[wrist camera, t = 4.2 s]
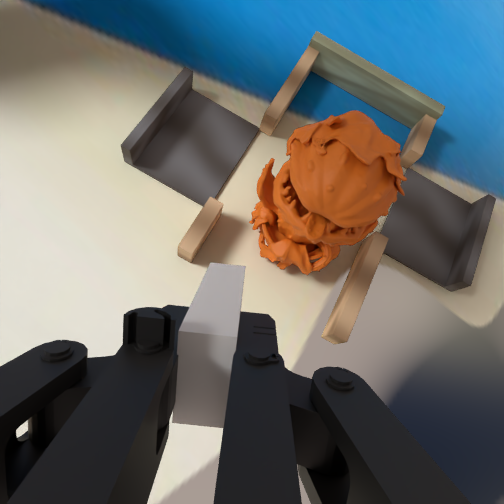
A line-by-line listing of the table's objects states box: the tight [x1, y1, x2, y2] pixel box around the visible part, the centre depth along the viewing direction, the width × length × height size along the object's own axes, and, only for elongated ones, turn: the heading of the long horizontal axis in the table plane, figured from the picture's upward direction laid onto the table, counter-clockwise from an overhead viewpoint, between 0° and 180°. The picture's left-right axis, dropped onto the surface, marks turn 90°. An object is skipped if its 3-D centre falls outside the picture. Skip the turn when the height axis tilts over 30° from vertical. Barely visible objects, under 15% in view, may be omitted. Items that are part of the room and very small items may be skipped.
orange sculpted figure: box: [249, 110, 407, 275], centre depth 31 cm, size 11×11×18 cm
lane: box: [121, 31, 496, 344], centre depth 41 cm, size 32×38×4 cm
